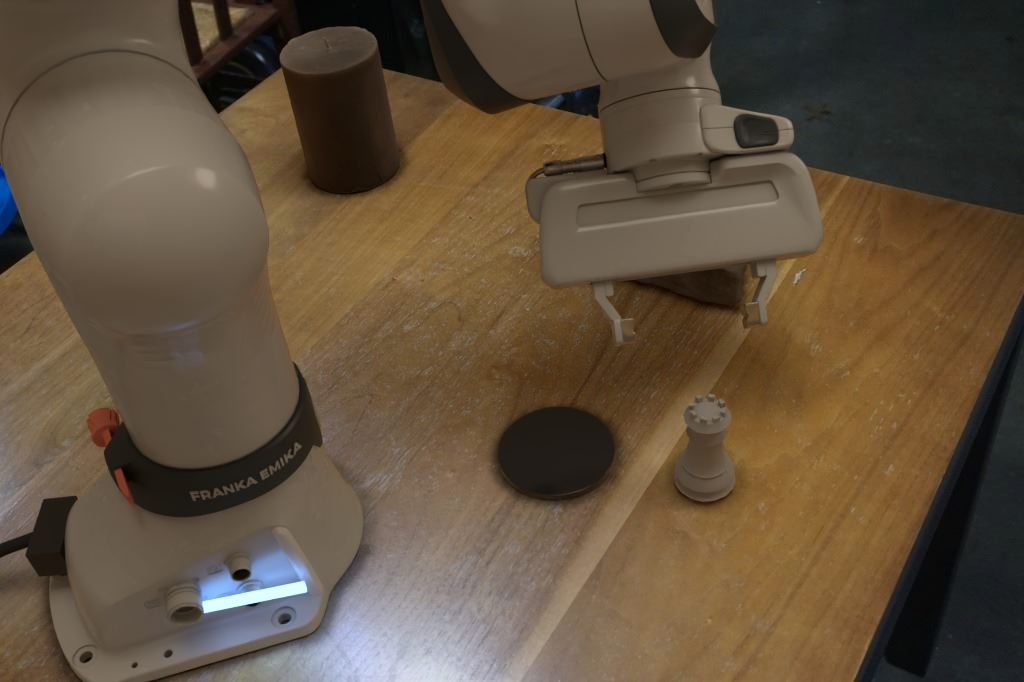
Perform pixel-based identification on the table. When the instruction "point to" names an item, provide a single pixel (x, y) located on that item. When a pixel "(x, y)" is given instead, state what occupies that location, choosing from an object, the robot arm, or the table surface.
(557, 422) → the slate coaster
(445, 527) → the table surface
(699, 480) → the rook chess piece
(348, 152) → the pillar candle
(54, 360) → the table surface
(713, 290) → the flat brown rock
